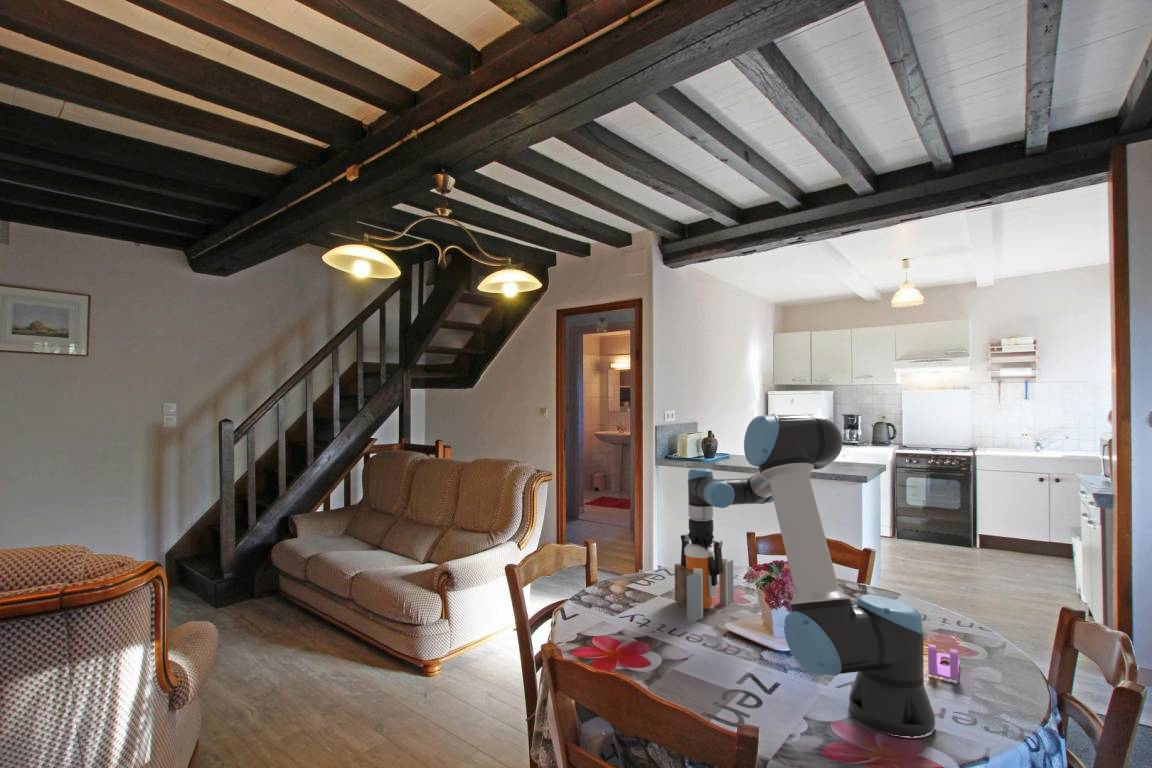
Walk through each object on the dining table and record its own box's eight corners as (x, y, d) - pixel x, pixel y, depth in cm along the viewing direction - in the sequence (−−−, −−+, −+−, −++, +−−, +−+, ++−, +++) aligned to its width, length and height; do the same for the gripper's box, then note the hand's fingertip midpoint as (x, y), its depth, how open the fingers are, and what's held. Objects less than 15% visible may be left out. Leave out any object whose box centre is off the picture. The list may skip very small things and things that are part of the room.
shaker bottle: (684, 608, 166) (682, 542, 167) (686, 598, 175) (685, 535, 175) (714, 611, 163) (712, 544, 164) (715, 601, 172) (714, 537, 173)
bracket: (957, 685, 123) (957, 654, 123) (928, 677, 126) (928, 647, 126) (960, 662, 133) (959, 634, 133) (933, 656, 137) (932, 628, 137)
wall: (693, 623, 156) (693, 573, 157) (686, 620, 158) (685, 571, 159) (734, 600, 174) (733, 555, 174) (726, 598, 176) (726, 554, 176)
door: (706, 614, 162) (706, 575, 162) (699, 615, 161) (699, 576, 161) (681, 599, 174) (681, 563, 174) (674, 600, 173) (674, 563, 173)
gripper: (735, 521, 165) (736, 597, 165) (681, 512, 179) (682, 582, 178) (722, 525, 160) (723, 604, 159) (668, 515, 173) (669, 588, 173)
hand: (701, 592), depth 169 cm, fingers open, 6 cm apart
